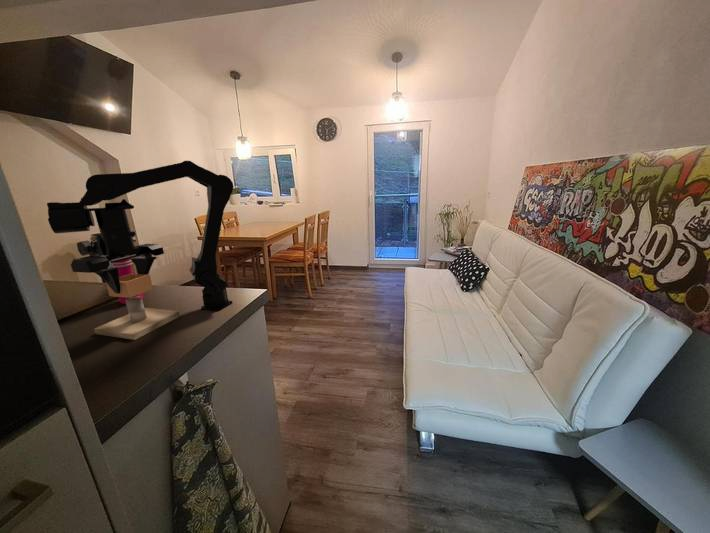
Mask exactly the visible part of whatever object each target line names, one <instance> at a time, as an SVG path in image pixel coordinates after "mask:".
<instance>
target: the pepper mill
mask: <svg viewBox="0 0 710 533" xmlns="http://www.w3.org/2000/svg"><path fill="white" fill-rule="evenodd" d="M126 256H127V255H126ZM118 258H119V257H118ZM130 259H131V258H130ZM130 259H126V260H122V261H118V262H114V263H111V264H112V267H113V268H118V274H119V277H121V276H124V275H127V274H135V273H134V271H133V267H132V265H133V264H134V263H133V262H132V261H131V260H130ZM143 293H144V292H143ZM143 293H141V294H138V295H136V296H133V297H137V296H140V297H142V300H143V299H144V298H145V296H144V294H143ZM130 298H132V297H130ZM126 299H128V298H126V297H118V300H119V303H120V304H123V305H126V301H125V300H126Z"/></svg>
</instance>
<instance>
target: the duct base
mask: <svg viewBox="0 0 710 533" xmlns="http://www.w3.org/2000/svg"><path fill="white" fill-rule="evenodd" d="M125 301H126V304H125V305H126V308H127V312H128V314H125V315H122V316H120V317H118V318H116V319H113V320H111V321H109V322H106V323H104V324H102V325H99V326H96V327H95V328H94V333H95V335H100V336H107V337H112V338H113V337H115V338H120V339H127V340H132V341H133V340H134V341H135V340H137V339H139V338H141V337H143V336H145V335H147V334H149V333H151V332H152V331H155V330H156V329H158V328H160V327H162V326H165V325H166V324H168V323H170V322H172V321H174V320H175V319H178V318H179V317H180V316H181V314H180V311H179V310H178V311H177V310H171V309H170V310H168V309H159V308H151V307H145V306H144V301H143V299H142V297H140V296H137V297H132V298H128V299H126V300H125Z"/></svg>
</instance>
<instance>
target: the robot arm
mask: <svg viewBox="0 0 710 533" xmlns="http://www.w3.org/2000/svg"><path fill="white" fill-rule="evenodd" d="M182 178H188V179H191V180H193V181H194V182H197V183H198V184H200V185H202V186H203V187H205V188H206V196H207V203H208V204H207V206H208V207H207V212H206V217H205V222H204V229H203V233H202V234H203V235H202V240H201V241H202V242H201V245H200V252H199V254H198V256H197V258H196V257H193V256H192V257H191V266H190V268H189V271H190V273H191V276H192V278H193V280H194V281H195V283H196V284H197V285H198V286H200V287H203V289H202V290H201V291H202V301H203V305H202V306H201V308H200V309H201V310H209V311H216V312H217V311H220V310H222V309H224V308H225V307H228V306H229V305H231V304H232V303H233V300H229V298H228V293H227V292H228V291H227V281H226V280H225V279H224V278H223V277H222V276H221V275H220V274H218V266H217V265H218V264H217V263H218V262H217V250H218V245H219V240H220V235H221V234H220V233H221V228H222V222H223V218H224V217H223V216H224V211H225V208H226V206H227V204H228V203H229V201H230V198H231V196H232V193H233V191H234V182H233V181H232V180H231V179H230V177H228V176H227V175H225V174H216V173H215V172H213V171H210V170H208V169H206V168H204V167H202V166H200V165H199V164H195V162H193V161H191V160H183V161H182V162H178V163H172V164H168V165H162V166H159V167H158V166H157V167H154V168H148V169H145V170H140V171H139V170H138V171H136V172H129V173H127V172H123V173H121V172H119V173H103V174H102V173H100V174H98V173H97V174H93V175H91V176H90V177H88V178H87V180H86V181H85V188H86V192H85V193H84V195H83V196H82V197H80V201H79V202H78V201H77V202H56V201H54V202H47V203H46V205H47V214H48V218H47V220H48V224H49V227H50V228H51V231H53V233H54V234H68V233H69V234H70V233H79V232H80V233H81V232H90V230H91V227H95V226H96V224H95V219H96V222H97V226H98V229H99V233H98V234H96V241H93V242H91V241H90V240H84V241H79V242H77V243H76V247H77V251H78V253H79V254H80V256H82V257H78V258H74V259H73V258H72V261H71V264H70V267H71V270H72V272H74V273H84V274H85V273H86V274H87V273H88V274H91V273H94V274H96V275H97V276H99V277H100V278H101V279H102V280H103V281H104V282H105V284H106V283H107V284H108V285H109V286H110V288H111V289H112V290H113V291H114V292H115V293H116V294H119V293H120V282H119V274H118V268H115V267H113V264H112V263H114V262H118V261H122V260H126V259H130V260H131V261H132V263H133V264H134V265H135V268H136V269H135V270H136V274H148V275H150V274H149V273H150V271H151V269H152V266H153V263H154V262H155V260H157V258H158V257H157V256H160V255H164V254H165V251H164V248H163V246H162V245H161V244H160V243H143V244H139V245H135V242H134V238H133V237H134V236H135V237H136V236H137V235H136V234H137V233H136V231H132V230H131V228H130V226H131V225H130V223H129V219H128V215H127V211H126V210H132V209H134V208H135V206H134V205H133V204H131V203H130V202H128V201H127V199H125V198H123V199H122V200H121V202H120V201H119V202H105V203H104V207H90V206H95V205H98V204H100V203H101V202H102V201H103V202H104V201H111V200H115V199H117V198H120V197H122V196H124V195H126V194H129V193H132V192H134V191H136V190H138V189H141V188H145V187H149V186H154V185H158V184H161V183H166V182H170V181H175V180H178V179H179V180H180V179H182ZM88 207H90V208H88ZM92 212H94V215H95V219H94V215H93V213H92ZM126 255H127V256H126ZM118 257H119V258H118Z"/></svg>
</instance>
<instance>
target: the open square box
mask: <svg viewBox="0 0 710 533" xmlns="http://www.w3.org/2000/svg"><path fill="white" fill-rule="evenodd" d="M119 282H120V293H119V294H116V293H115V292H114V291H113V290H112V289H111V288H110V286H109V285H108V284H107V283H106V282H105V285H106V288H107V292H108V295H109V297H115V298H116V297H117V298H119V297H126V298H130V297H133V296H136V295H138V294H141V293H146V292H148V291H151V290H153V289H154V287H153V282H152V278H151V275H150V274H137V273H134V274H127V275H124V276H121V277H119Z"/></svg>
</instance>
